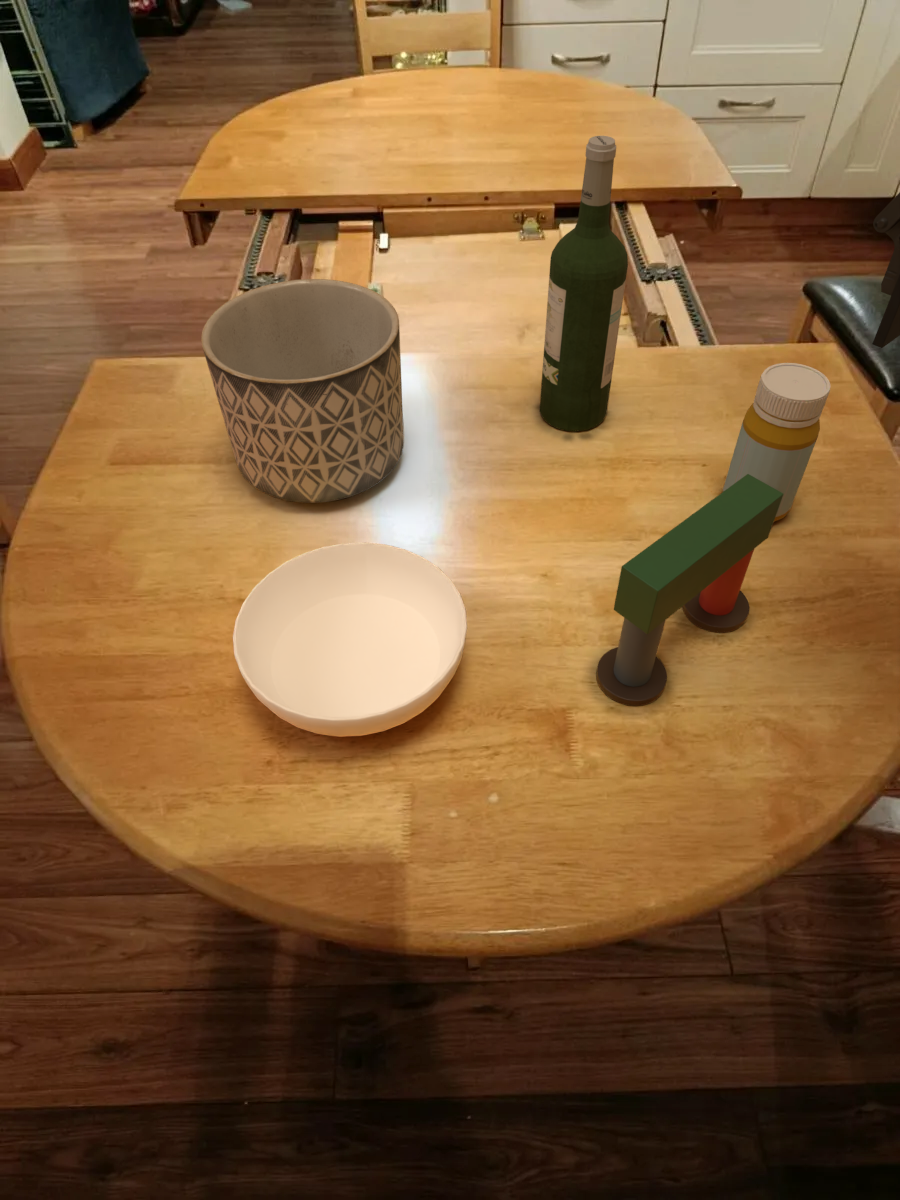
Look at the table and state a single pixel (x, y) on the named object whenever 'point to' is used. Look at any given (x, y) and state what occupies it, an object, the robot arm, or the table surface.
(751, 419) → the bottle
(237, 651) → the bowl
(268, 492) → the planter
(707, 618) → the red peg on stand
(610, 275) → the wine bottle
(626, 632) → the grey cylinder on disc
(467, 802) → the table surface
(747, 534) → the green bar
